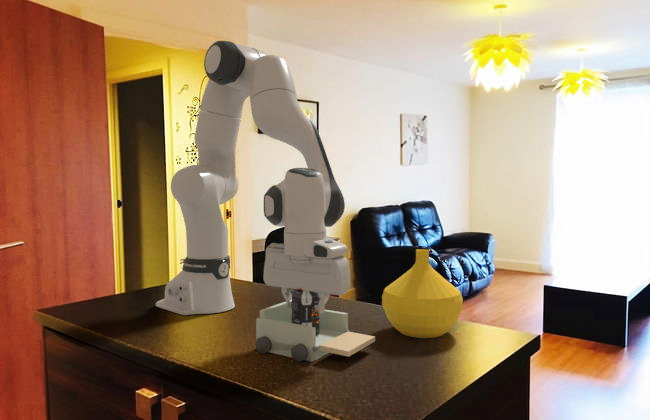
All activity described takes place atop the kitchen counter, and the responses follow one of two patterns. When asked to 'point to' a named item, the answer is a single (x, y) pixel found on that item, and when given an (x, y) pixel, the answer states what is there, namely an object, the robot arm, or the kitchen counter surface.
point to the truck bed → (296, 333)
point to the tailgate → (347, 343)
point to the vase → (422, 301)
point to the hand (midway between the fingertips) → (305, 310)
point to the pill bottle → (305, 309)
